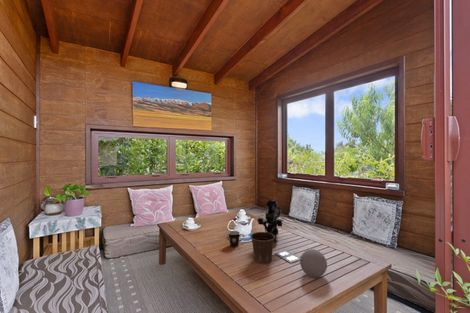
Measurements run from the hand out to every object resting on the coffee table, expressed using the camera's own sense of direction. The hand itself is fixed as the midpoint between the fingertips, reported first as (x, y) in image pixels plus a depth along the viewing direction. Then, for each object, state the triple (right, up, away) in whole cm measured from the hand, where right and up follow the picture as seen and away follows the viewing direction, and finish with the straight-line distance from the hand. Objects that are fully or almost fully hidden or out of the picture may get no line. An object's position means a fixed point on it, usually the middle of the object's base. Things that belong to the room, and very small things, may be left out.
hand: (268, 232), depth 173 cm
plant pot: (-6, -13, -17) cm, 22 cm away
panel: (+12, -13, -13) cm, 22 cm away
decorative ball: (+21, -13, -38) cm, 45 cm away
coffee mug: (-24, -13, +7) cm, 29 cm away
